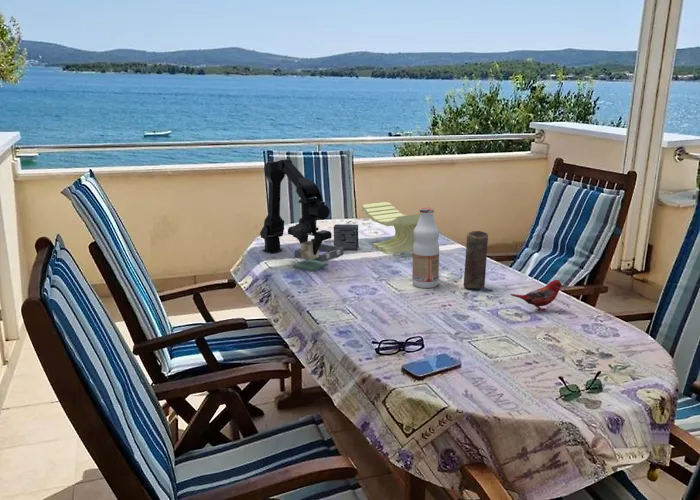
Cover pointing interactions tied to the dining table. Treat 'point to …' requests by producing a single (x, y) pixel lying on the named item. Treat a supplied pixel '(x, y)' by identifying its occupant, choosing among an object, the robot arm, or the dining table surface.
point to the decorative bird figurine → (542, 295)
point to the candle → (475, 260)
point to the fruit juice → (426, 251)
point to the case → (331, 254)
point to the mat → (310, 265)
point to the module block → (308, 250)
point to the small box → (346, 236)
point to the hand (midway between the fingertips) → (309, 253)
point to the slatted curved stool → (401, 223)
